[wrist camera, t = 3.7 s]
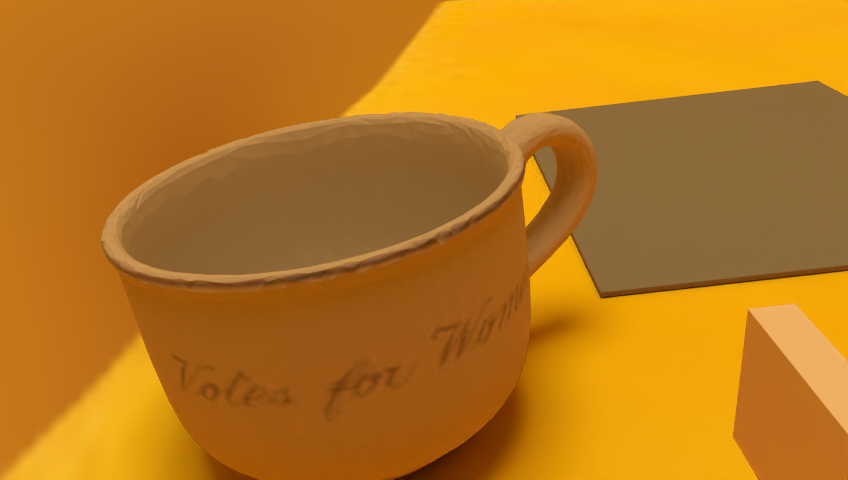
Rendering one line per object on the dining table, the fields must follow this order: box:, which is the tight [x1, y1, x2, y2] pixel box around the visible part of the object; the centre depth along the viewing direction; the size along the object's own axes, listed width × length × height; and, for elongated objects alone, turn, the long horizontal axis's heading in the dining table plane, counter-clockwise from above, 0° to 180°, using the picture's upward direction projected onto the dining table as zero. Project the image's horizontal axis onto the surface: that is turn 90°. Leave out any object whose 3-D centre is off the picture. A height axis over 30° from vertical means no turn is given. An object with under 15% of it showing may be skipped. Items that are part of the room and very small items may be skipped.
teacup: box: [101, 112, 597, 480], centre depth 21 cm, size 14×11×8 cm
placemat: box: [516, 81, 848, 297], centre depth 35 cm, size 18×20×1 cm
